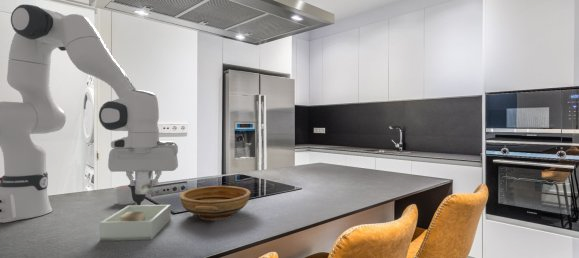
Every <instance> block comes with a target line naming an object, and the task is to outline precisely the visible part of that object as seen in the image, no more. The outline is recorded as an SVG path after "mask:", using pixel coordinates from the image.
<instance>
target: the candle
mask: <svg viewBox="0 0 579 258" xmlns="http://www.w3.org/2000/svg"><path fill="white" fill-rule="evenodd" d="M128 185H129V184H127V185H119V186H116V187H114V188H113V189H114V193H115V199H116V202H117V204H118V205H120V206H128V205H133V204H137V203H136V202H134V201H133V199H132V193H131V188H130V187H128Z"/></svg>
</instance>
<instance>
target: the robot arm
mask: <svg viewBox="0 0 579 258" xmlns="http://www.w3.org/2000/svg"><path fill="white" fill-rule="evenodd" d="M10 23H11V27H12V29H13V31H14V32H15V33H14V35H13V37H12V40H11V43H10V48H9V51H8V52H9V53H8V63H7V74H6V82H7V83H8V85H9V86H10V87H11V88H12V89H14V90H16V91H17V92H18V93H19V94H20V96H21V98H22V102H21V101H20V102H19V101H18V102H17V101H0V149H1V152H2V155H3V167H4V170H3V171H4V175H3V176H1V177H0V223H2V224H3V223H9V222H14V221H19V220H26V219H31V218H36V217H40V216H44V215H46V214H49V213H51V212H52V211H53V208H52V206H51V203H50V198H49V193H48V185H49V184H48V183H49V178H48V177H49V176H48V172H47V153H46V151H45V149H44V148H43V147H41V146H39V145H37V144H35V143H34V142H33V141H32V139H31V136H30V135H34V134H35V135H38V134H44V135H45V134H50V133H55V132H58V131H60V130H62V129H63V127H64V126H65V124H66V121H67V118H66V117H67V116H66V114H65V111H64V110H63V109H62V108H61V107H60V106H59V105H58V103H56V102H55V100H54V98H53V96H52V93H51V89H50V88H51V87H50V77H51V76H50V75H51V74H50V71H51V59H52V58H51V57H52V52H53V51H54V50H55V49H57V48H58V49H59V50H60V52H61V51H64V52H65V51H66V53H67V55H68V58H69V59H70V61H71V62H72V64H73V65H74V67H76V68H77V69H78V70H79V71H81V72H82V73H84V74H87V75H89V76H92V77H94V78H96V79H98V80H101V81H102V82H104V83H106V84H108V85H109V86H110V88H112V89H113V91H114V92H115V94H116V95H117V98H116V99H113V100H110V101H109V100H108V101H106V102H105V103H103V104H102V105H101V107H100V108H99V111H98V120H99V123H100V124H101V125H102V127H103V128H104V129H105V130H108V131H113V132H115V131H116V132H127V136H126V137H125V136H124V137H122V138H118V139H115V140H112V141H111V142H110V147H111V148H112V149H111V150H110V151H109V153H108V159H107V160H108V163H107V167H108V170H109V171H110V172H114V173H115V172H120V173H121V172H124V173H125V176H126V177H127V178H128V180H129V184H130V186H135V178H134V177H135V176H134V175H135V171H153V172H154V175H155V177H154V178H153V180H151V182H152V183H151V185H153V186H158V184H159V179H160V177H161V175H162V172H173V171H176V170H177V169H178V166H179V160H178V153H179V149H178V148H179V147H178V144H177V143H175V142H174V141H170V140H169V141H164V140H163V141H162V140H160V130H159V127H158V125H159V124H158V122H159V118H160V117H159V116H160V112H159V111H160V110H159V102H158V98H157V95H156V94H155V93H153V92H151V91H147V90H141V89H136V87H135V86H134V84H133V82H132V81H131V79H130V77H129V76H128V74H126V72H125V70H123V68H122V67H121V66H120V64H119V63H118V62H117V61H116V60H115V59H114V57H113V55H112V54H111V53H110V51H109V49H108V48H107V46H106V44H105V43H104V41H103V39H102V37H101V35H100V34H99V32H98V31H97V29H96V27H95V25H93V23H92V22H91V21H90V20H89V18H88V17H85V16H84V15H82V14H78V13H72V14H68V15H64V14H63V13H60V12H57V11H53V10H49V9H45V8H42V7H39V6H38V5H33V4H26V3H25V4H24V3H23V4H20V5H18V6H16V7H15V9H13V11H12V13H11V15H10Z"/></svg>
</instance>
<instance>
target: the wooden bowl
mask: <svg viewBox="0 0 579 258" xmlns="http://www.w3.org/2000/svg"><path fill="white" fill-rule="evenodd" d="M251 193H252V192H251V190H249V189H248V188H245V187H240V186H233V185H211V186H210V185H208V186H200V187H196V188H195V187H194V188H190V189H187V190H184V191H182V192H180V193H179V195H178V196H179V199H180V202H181V203H180V204H181V205H182V207H183V208H184V210H186V212H189V213H191V214H194V215H198V216H199V219H202V220H205V221H220V220H225V219H228V218H230V217H231V216H232V215H233V213H236V212H238V211H240V210H241V209H243V208H244V207H246V205H247V204H248V202H249V199H250V196H251Z"/></svg>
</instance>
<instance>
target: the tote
mask: <svg viewBox="0 0 579 258" xmlns="http://www.w3.org/2000/svg"><path fill="white" fill-rule="evenodd" d="M171 206H172V205H171V204H141V205H137V204H135V205H133V204H128V205H125V207H123V208H122V209H119V211H117V212H114V213H113V214H112V215H110V216H108V217H107V218H105V219H103V220H102V221H101V222H99V241H100V242H103V241H104V242H106V241H107V242H108V241H109V242H111V241H139V240H140V241H145V240H147V241H149V240H153V239H154V238H155V236H156V235H158V233H159V232H160V231H161V230H162V229H163V228H164V227H165V226H167V224H168V223H169V222H170V221H171V219H172V215H171V214H172V212H171V210H172V208H171ZM127 212H145V221H120V217H121V216H122V215H124V214H125V213H127Z"/></svg>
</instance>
